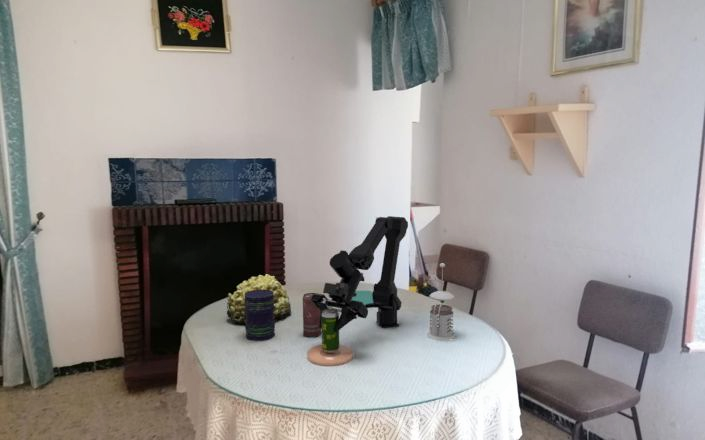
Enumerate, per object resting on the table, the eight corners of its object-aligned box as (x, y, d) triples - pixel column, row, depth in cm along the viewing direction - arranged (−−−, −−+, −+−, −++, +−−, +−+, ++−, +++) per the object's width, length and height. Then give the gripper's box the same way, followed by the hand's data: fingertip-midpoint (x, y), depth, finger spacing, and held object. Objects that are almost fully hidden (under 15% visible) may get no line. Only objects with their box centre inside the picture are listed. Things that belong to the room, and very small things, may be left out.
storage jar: (261, 343, 162) (259, 299, 160) (239, 337, 167) (237, 294, 165) (281, 334, 170) (280, 291, 169) (259, 328, 176) (258, 287, 174)
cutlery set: (395, 301, 208) (395, 296, 207) (340, 318, 188) (339, 312, 188) (363, 292, 222) (363, 287, 222) (309, 307, 203) (308, 302, 203)
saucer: (344, 345, 160) (344, 341, 160) (359, 361, 147) (359, 357, 147) (302, 351, 156) (302, 347, 155) (314, 369, 142) (314, 364, 142)
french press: (458, 332, 171) (460, 261, 168) (450, 344, 160) (452, 268, 157) (431, 328, 175) (432, 259, 172) (421, 339, 165) (422, 265, 161)
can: (319, 338, 166) (318, 297, 165) (301, 336, 168) (300, 296, 166) (323, 331, 172) (323, 292, 170) (306, 330, 174) (305, 291, 172)
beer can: (335, 344, 155) (334, 307, 153) (342, 351, 150) (341, 312, 148) (319, 348, 153) (318, 310, 151) (325, 354, 148) (325, 315, 146)
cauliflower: (295, 323, 181) (294, 281, 179) (227, 329, 176) (225, 286, 173) (287, 304, 205) (286, 266, 203) (227, 308, 200) (225, 270, 197)
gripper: (313, 268, 156) (290, 311, 149) (362, 276, 146) (341, 323, 139) (328, 286, 164) (308, 328, 157) (376, 295, 154) (357, 340, 146)
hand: (327, 329), depth 149 cm, fingers closed on beer can, 5 cm apart
